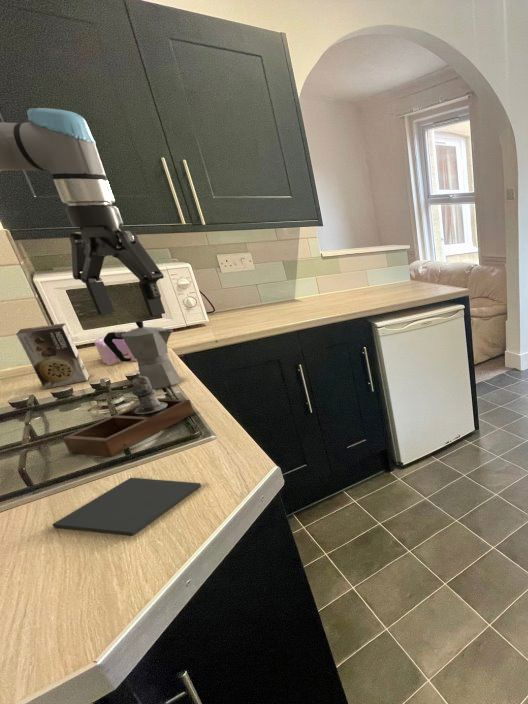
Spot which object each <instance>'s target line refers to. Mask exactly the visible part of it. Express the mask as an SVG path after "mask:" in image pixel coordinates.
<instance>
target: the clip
mask: <svg viewBox="0 0 528 704" xmlns="http://www.w3.org/2000/svg"><path fill="white" fill-rule="evenodd" d="M133 329H134V328H131V329H130V331H131V330H133ZM122 331H123V330H122V329H120V330H115V331H114V330H113V332H122ZM104 338H105V336H102V337H98V338H96V339H95V340H94V341H93V342H94V346H95V347H96V350H97V352H98V355H99V357H100V359H101V362H102V363H104V364H106V366H112V365H114V364H117V363H118V362H119V361H118V360H119V359H118V357H117V356H116V355H115V354H114V353H113V352H112V351H111V349H110V348H109V347H108V346H107V345H106V344H105V343H104ZM112 341H113V342H114V343H115V344H116V346H117V348H118V349H119V350H120V351H121V352H122V354H123V356H124V355H128V358H131V361H130V362H137V359H135V358H134V356H133V354H132V353H131V351H130V349H129V348H128V346H127V344H126V343H125V341H124V339H113V340H112Z"/></svg>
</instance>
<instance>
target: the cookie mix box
mask: <svg viewBox="0 0 528 704" xmlns="http://www.w3.org/2000/svg"><path fill="white" fill-rule="evenodd" d="M16 337H17V338H18V341H19V342H20V344H21V347H22V348H23V350H24V353H25V354H26V356H27V358H28V361H29V362H30V364H31V366H32V368H33V370H34V373H35V374H36V376H37V378H38V380H39V382H40V384H41V386H42V388H43V390H47V389H51V388H56V387H57V388H58V387H62V386H66V385H67V386H68V385H71V384H76V383H83V382H87V381H88V379H89V377H90V375H89V371H88V370H87V368H86V366H85V364H84V362H83V360H82V358H81V354H80V353H79V351H78V349H77V346H76V343H75V342H74V340H73V337H72V335H71V333H70V330H69V329H68V326H67V325H66V323H65V322H64V323H55V324H48V325H41V326H33V327H26V328H21V329H19V330H18V331H17V332H16Z"/></svg>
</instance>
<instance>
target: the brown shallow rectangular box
mask: <svg viewBox="0 0 528 704" xmlns="http://www.w3.org/2000/svg"><path fill="white" fill-rule="evenodd" d="M156 398H157V397H156ZM157 400H158V401H159V402H165V403H167V404H168V405H167V409H166V410H164V411H162V412H159V413H157V414H155V415H153V416H151V417H139V416H138V415H137V414H135V413H134V411H135V410H136V409H137V408H139V407H140V403H139V404H136V405H135V406H132V407H129V408H127V409H125V410H122V411H121V412H118V413H116V414H114V415H111V416H109V417H106V418H105V419H102V420H100V421H98V422H95V423H93V424H91V425H89V426H86V427H84V428H82V429H80V430H77V431H75V432H73V433H71V434H67V435H66V436H64V437H62V440H63V443H64V445H65V446H66V449H67V450H68V453H69V454H72V455H73V454H76V455H89V456H103V457H113V456H116V455H117V454H119V453H121V452H123V451H125V450H127V449H129V448H131V447H133V446H135V445H137V444H139V443H141V442H143V441H144V440H146V439H148V438H150V437H152V436H153V435H156V434H158V433H159V432H161V431H163V430H166V429H167V428H169V427H171V426H173V425H174V424H177V423H178V422H180V421H182V420H184V419H187V418H188V417H190V416H192V415H194V414H195V412H194V408H193V405H192V403H191V401H190V399H179V398H178V399H177V398H176V399H175V398H157ZM124 444H126V445H125V446H123V445H124Z"/></svg>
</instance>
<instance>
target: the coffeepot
mask: <svg viewBox="0 0 528 704" xmlns="http://www.w3.org/2000/svg"><path fill="white" fill-rule="evenodd" d="M134 323H135V324H136V326H137V328H132V329H133V330H131V329H130V330H128V331H125V330H124V331H123V330H122V332H114V331H111V332H107V333H106V335H105V336H104V337H105V338H104V343H105V344H106V345H107V346H108V347H109V348H110V349H111V351H112V352H113V353H114V354H115V355H116V358H117V359H118V360H119V361H120V362H122V363H129V362H132V361H131V358H130V357H126V356H124V355H123V354H122V352H121V351H120V350H119V349H118V348H117V346H116V344H115V343H114V342H113V341H112V340H113V339H124V341H125V343H126V344H127V346H128V348H129V349H130V351H131V353H132V354H133V356H134V358H135V359H137V361H136V362H137V367H138V373H139V374H140V376H145V377H147V378H148V379H149V381H150V384H151V387H152V389H155V390H158V389H159V390H160V389H164V388H167V387H168V388H169V387H171V386H174V385H177V384H179V383H180V382H181V381H182V378H181V376H180V375H179V373H178V372H177V370H176V368H175V366H174V364H173V363H172V361H171V359H170V357H169V355H168V353H169V352H168V351H169V350H168V345H167V344H168V342H169V338H170V337H171V334H172V333H173V332H174V330H173V329H172V328H163V327H161V326H160V327H159V326H157V327H155V326H144V321H143V320H137V321H136V320H135V322H134Z"/></svg>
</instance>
